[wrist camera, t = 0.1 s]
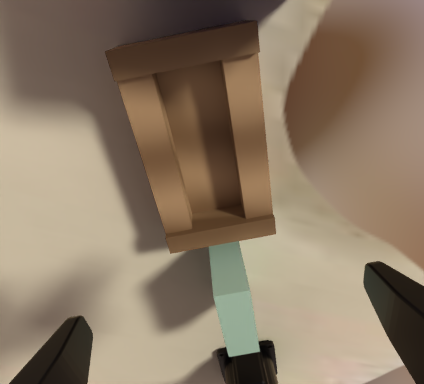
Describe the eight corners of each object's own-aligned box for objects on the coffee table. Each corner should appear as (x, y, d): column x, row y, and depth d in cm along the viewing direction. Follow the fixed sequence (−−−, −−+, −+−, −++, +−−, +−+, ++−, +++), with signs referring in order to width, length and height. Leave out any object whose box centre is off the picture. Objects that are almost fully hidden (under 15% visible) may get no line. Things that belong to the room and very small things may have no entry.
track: (265, 208, 26) (276, 234, 22) (172, 226, 26) (170, 253, 23) (245, 20, 19) (256, 20, 16) (118, 46, 19) (104, 51, 16)
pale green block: (245, 284, 30) (260, 351, 24) (219, 288, 30) (228, 357, 24) (236, 227, 26) (250, 290, 20) (206, 233, 26) (212, 297, 20)
